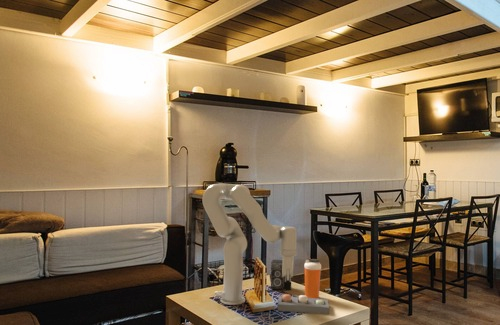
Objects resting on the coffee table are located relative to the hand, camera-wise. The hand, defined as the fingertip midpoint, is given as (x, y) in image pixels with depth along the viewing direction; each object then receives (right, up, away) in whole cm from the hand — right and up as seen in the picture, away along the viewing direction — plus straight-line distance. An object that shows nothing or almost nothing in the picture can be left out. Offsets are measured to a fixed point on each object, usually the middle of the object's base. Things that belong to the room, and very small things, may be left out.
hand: (287, 289), depth 199 cm
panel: (+7, -8, -1) cm, 11 cm away
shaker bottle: (+14, -9, +15) cm, 22 cm away
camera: (-3, -8, +29) cm, 30 cm away
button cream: (+7, -6, -1) cm, 10 cm away
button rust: (-1, -6, 0) cm, 6 cm away
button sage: (+15, -8, -2) cm, 17 cm away
